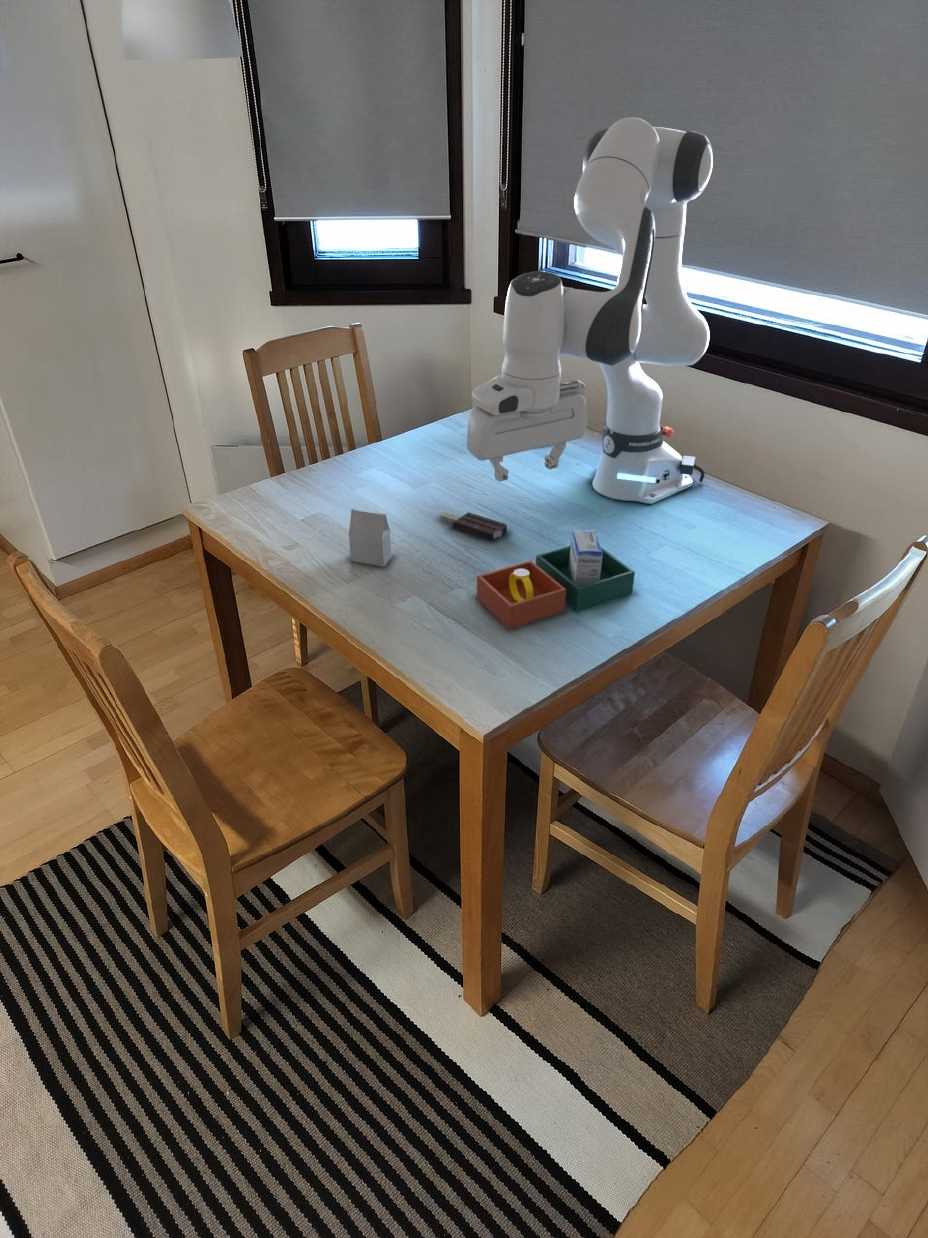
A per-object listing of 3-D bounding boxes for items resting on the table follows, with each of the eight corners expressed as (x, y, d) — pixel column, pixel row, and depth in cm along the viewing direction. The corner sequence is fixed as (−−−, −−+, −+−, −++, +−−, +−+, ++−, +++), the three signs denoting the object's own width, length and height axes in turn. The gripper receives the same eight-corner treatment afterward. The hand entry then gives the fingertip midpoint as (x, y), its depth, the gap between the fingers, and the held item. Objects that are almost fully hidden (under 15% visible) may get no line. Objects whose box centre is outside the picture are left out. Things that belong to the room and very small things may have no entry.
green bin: (588, 560, 166) (591, 539, 164) (632, 593, 157) (635, 571, 154) (535, 576, 161) (536, 555, 159) (576, 611, 152) (578, 589, 149)
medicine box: (567, 571, 162) (571, 529, 157) (591, 570, 162) (596, 529, 157) (574, 594, 155) (577, 551, 150) (598, 593, 156) (603, 551, 151)
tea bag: (383, 566, 164) (381, 519, 158) (351, 560, 166) (347, 513, 160) (391, 557, 167) (389, 510, 161) (358, 551, 169) (355, 505, 163)
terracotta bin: (529, 581, 160) (530, 560, 157) (564, 611, 152) (566, 589, 149) (476, 597, 155) (476, 575, 153) (509, 629, 147) (510, 606, 145)
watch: (536, 607, 152) (538, 578, 148) (522, 612, 150) (524, 582, 147) (518, 591, 156) (519, 562, 153) (504, 595, 155) (505, 566, 151)
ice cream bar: (433, 522, 179) (495, 542, 172) (433, 515, 178) (495, 535, 171) (448, 512, 182) (509, 532, 175) (448, 505, 181) (509, 524, 175)
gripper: (575, 371, 138) (568, 453, 146) (462, 393, 130) (461, 478, 138) (599, 383, 134) (591, 467, 141) (483, 406, 125) (481, 494, 133)
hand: (526, 473), depth 139 cm, fingers open, 8 cm apart
